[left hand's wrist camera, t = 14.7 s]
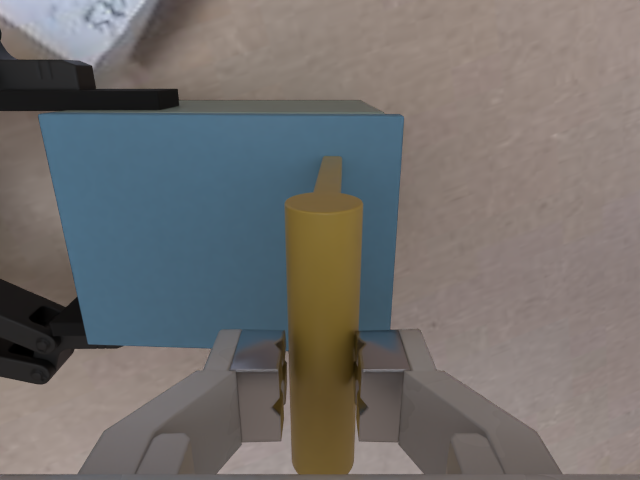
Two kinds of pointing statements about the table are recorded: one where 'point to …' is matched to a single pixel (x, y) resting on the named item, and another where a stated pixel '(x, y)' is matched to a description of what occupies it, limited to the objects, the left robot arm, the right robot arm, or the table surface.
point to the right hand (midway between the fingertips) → (182, 216)
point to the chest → (258, 107)
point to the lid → (237, 241)
